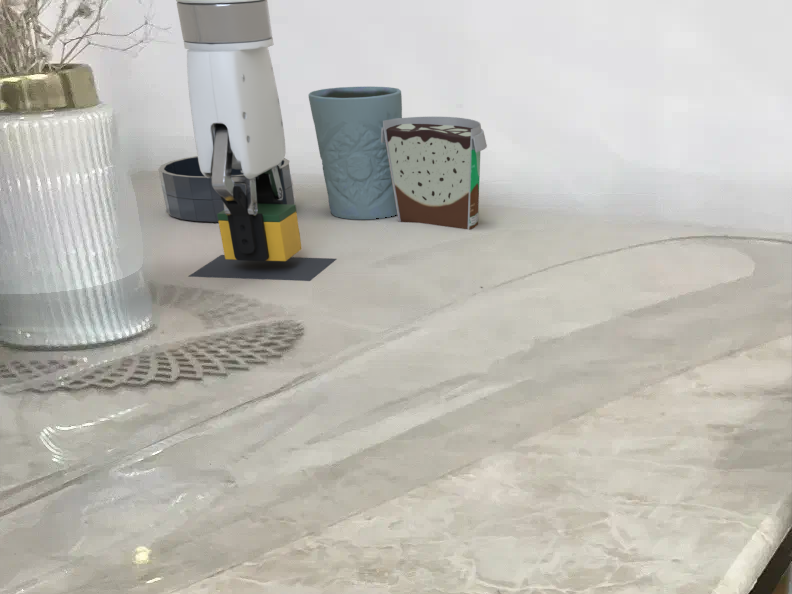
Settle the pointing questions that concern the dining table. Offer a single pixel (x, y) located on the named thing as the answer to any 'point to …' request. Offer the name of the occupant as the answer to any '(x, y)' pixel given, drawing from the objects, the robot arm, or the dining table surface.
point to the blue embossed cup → (356, 148)
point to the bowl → (204, 190)
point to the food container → (435, 169)
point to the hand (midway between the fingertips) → (262, 250)
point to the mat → (265, 269)
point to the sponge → (269, 231)
